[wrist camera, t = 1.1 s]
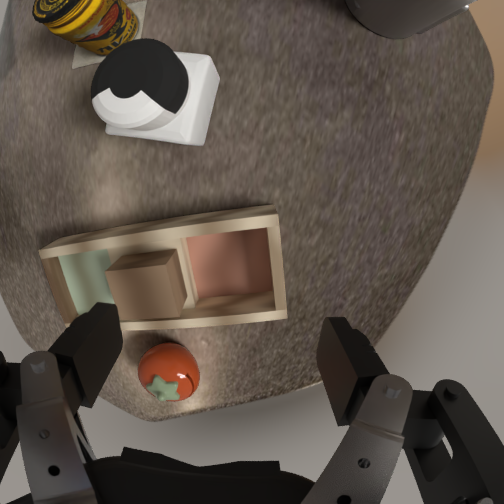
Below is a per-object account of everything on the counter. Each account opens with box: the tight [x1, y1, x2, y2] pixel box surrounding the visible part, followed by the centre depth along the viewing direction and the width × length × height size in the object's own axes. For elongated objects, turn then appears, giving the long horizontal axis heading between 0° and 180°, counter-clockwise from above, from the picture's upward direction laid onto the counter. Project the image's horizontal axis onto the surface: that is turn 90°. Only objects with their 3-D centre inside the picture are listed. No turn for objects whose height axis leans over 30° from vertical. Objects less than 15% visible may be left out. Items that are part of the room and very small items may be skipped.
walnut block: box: [105, 249, 188, 320], centre depth 26 cm, size 6×5×4 cm
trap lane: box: [38, 204, 287, 331], centre depth 28 cm, size 25×10×4 cm, turn 97°
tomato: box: [138, 342, 200, 402], centre depth 30 cm, size 7×7×8 cm
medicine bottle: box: [91, 38, 220, 146], centre depth 19 cm, size 7×7×12 cm
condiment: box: [32, 0, 147, 69], centre depth 16 cm, size 7×8×12 cm
